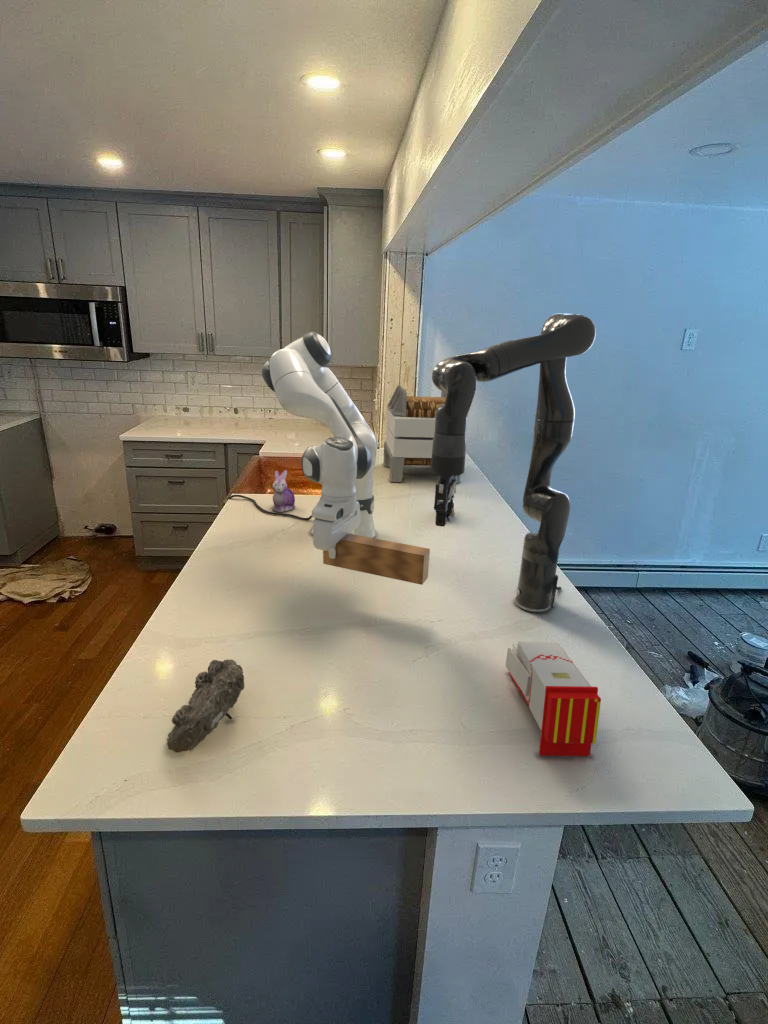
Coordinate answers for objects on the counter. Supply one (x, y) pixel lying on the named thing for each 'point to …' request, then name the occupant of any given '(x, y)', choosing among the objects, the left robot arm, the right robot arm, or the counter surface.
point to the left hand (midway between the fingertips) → (338, 553)
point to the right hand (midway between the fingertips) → (443, 519)
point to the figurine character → (448, 514)
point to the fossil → (206, 705)
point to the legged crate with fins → (410, 431)
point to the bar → (381, 558)
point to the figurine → (282, 493)
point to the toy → (556, 697)
